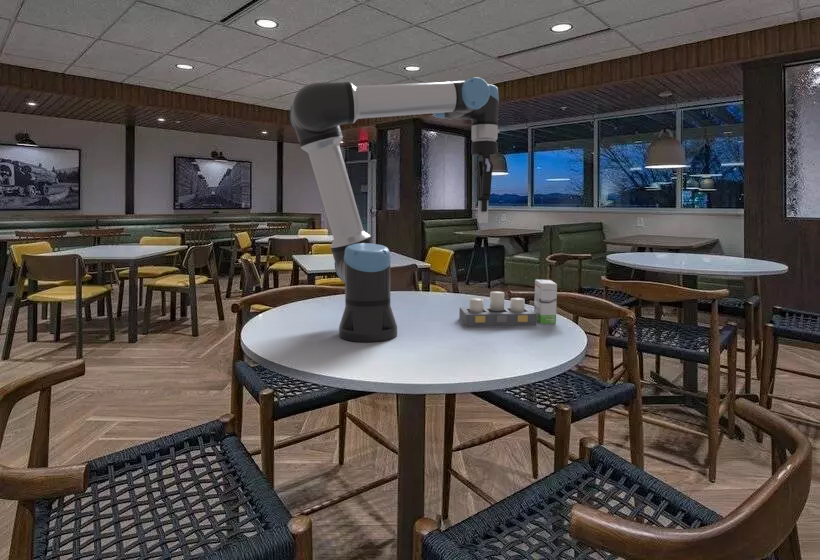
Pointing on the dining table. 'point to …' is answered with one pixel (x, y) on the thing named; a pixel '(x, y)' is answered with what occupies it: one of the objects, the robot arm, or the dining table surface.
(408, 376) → the dining table surface
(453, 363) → the dining table surface
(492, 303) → the button mid
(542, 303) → the ink box
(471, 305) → the button left
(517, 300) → the button right
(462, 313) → the console
